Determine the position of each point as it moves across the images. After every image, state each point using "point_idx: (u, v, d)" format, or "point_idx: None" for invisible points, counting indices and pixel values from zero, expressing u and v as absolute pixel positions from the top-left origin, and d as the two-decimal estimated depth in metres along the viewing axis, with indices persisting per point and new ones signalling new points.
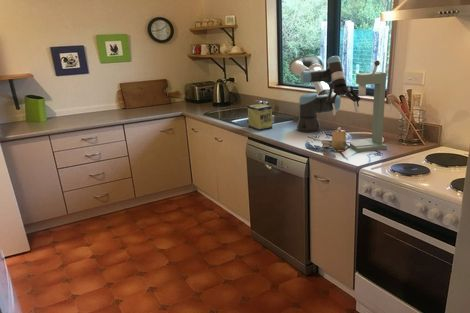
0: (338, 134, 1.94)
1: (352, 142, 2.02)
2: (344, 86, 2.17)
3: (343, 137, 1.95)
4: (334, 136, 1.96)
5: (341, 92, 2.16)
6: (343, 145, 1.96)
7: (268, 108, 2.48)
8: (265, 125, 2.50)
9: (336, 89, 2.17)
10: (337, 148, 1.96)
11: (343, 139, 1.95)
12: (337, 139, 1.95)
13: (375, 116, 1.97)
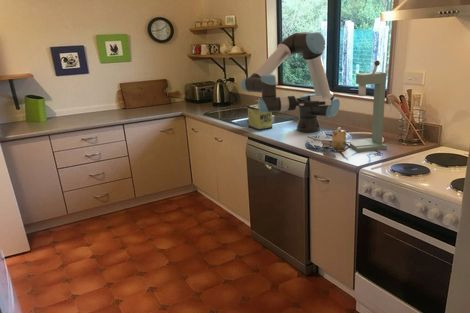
0: (338, 134, 1.94)
1: (352, 142, 2.02)
2: (297, 105, 1.94)
3: (343, 137, 1.95)
4: (334, 136, 1.96)
5: None
6: (343, 145, 1.96)
7: None
8: (265, 125, 2.50)
9: None
10: (337, 148, 1.96)
11: (343, 139, 1.95)
12: (337, 139, 1.95)
13: (375, 116, 1.97)
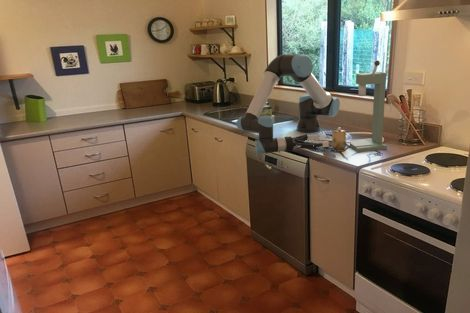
0: (338, 134, 1.94)
1: (352, 142, 2.02)
2: None
3: (343, 137, 1.95)
4: (334, 136, 1.96)
5: None
6: (343, 145, 1.96)
7: (268, 108, 2.48)
8: None
9: None
10: (337, 148, 1.96)
11: (343, 139, 1.95)
12: (337, 139, 1.95)
13: (375, 116, 1.97)
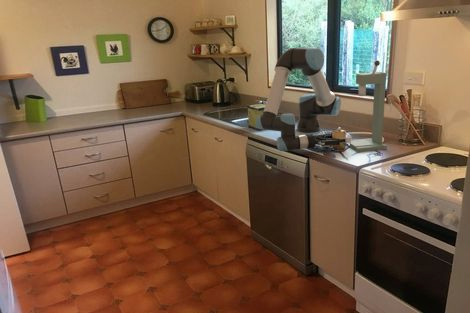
0: (338, 134, 1.94)
1: (352, 142, 2.02)
2: None
3: None
4: (334, 136, 1.96)
5: None
6: (343, 145, 1.96)
7: None
8: None
9: None
10: (337, 148, 1.96)
11: None
12: None
13: (375, 116, 1.97)
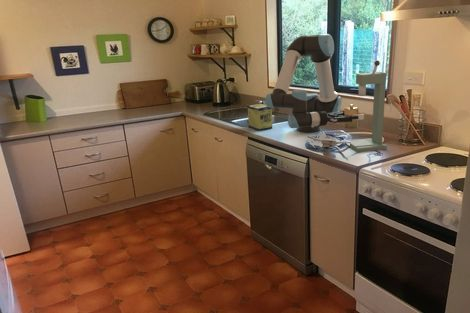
0: (350, 111, 1.90)
1: (352, 142, 2.02)
2: None
3: None
4: (346, 113, 1.92)
5: None
6: (355, 122, 1.92)
7: (268, 108, 2.48)
8: (265, 125, 2.50)
9: None
10: (349, 126, 1.93)
11: None
12: None
13: (375, 116, 1.97)
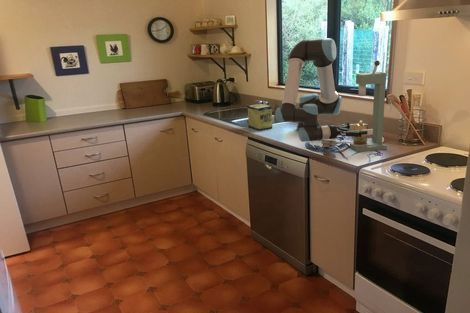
0: (360, 127, 1.94)
1: (352, 142, 2.02)
2: None
3: None
4: (356, 129, 1.96)
5: None
6: (365, 138, 1.96)
7: (268, 108, 2.48)
8: (265, 125, 2.50)
9: None
10: (359, 142, 1.97)
11: None
12: None
13: (375, 116, 1.97)
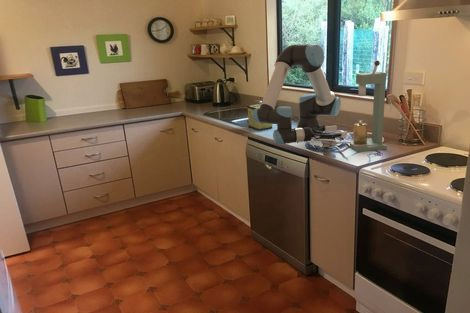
0: (360, 127, 1.94)
1: (352, 142, 2.02)
2: None
3: (365, 130, 1.95)
4: (356, 129, 1.96)
5: None
6: (365, 138, 1.96)
7: None
8: (265, 125, 2.50)
9: None
10: (359, 142, 1.97)
11: (365, 132, 1.95)
12: (359, 132, 1.95)
13: (375, 116, 1.97)
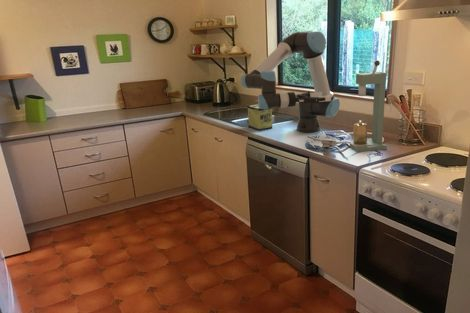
0: (360, 127, 1.94)
1: (352, 142, 2.02)
2: (296, 101, 1.94)
3: (365, 130, 1.95)
4: (356, 130, 1.96)
5: None
6: (365, 138, 1.96)
7: None
8: (265, 125, 2.50)
9: None
10: (359, 142, 1.97)
11: (365, 132, 1.95)
12: (359, 132, 1.95)
13: (375, 116, 1.97)
